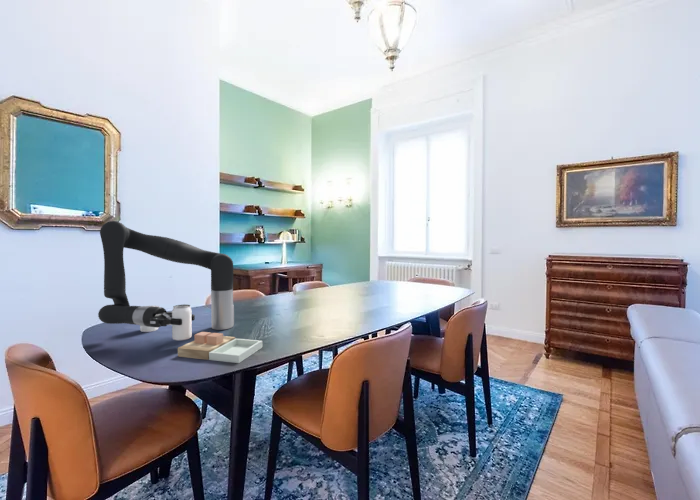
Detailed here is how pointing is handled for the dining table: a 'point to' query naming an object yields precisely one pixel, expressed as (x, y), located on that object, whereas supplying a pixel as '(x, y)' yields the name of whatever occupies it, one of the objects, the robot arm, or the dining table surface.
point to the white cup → (148, 329)
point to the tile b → (215, 338)
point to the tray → (235, 350)
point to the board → (200, 349)
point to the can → (186, 328)
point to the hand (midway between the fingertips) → (187, 319)
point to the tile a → (201, 337)
